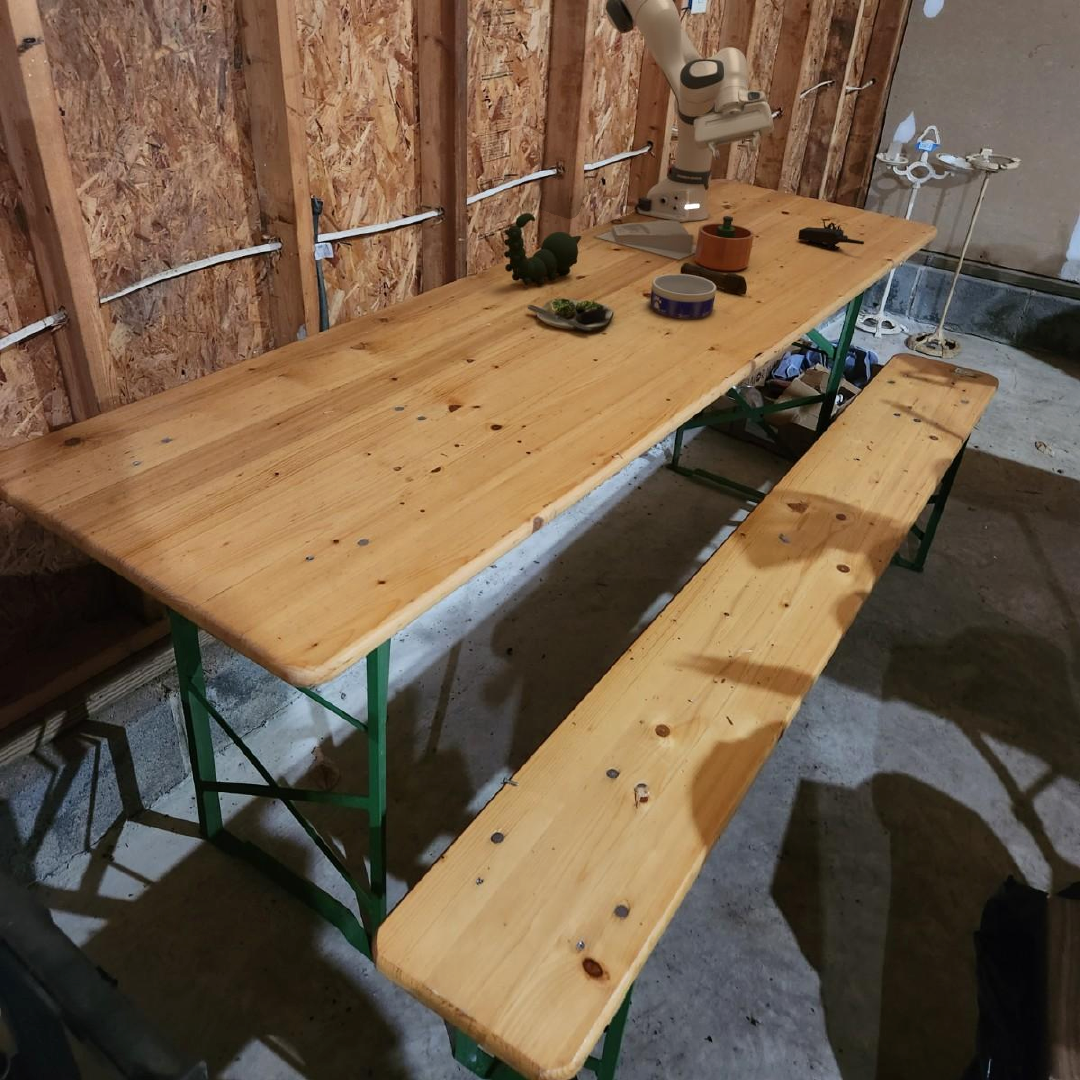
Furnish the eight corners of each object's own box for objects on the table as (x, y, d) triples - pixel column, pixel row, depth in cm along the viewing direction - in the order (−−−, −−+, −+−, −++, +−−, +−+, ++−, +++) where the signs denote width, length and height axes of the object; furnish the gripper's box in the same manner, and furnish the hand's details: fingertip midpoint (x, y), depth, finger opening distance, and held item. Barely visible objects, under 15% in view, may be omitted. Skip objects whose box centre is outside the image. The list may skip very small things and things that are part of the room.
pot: (690, 267, 250) (695, 234, 245) (699, 252, 262) (704, 220, 257) (744, 276, 247) (750, 242, 242) (750, 260, 259) (756, 227, 253)
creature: (832, 234, 289) (814, 230, 285) (839, 217, 286) (821, 213, 282) (849, 242, 283) (830, 238, 279) (856, 224, 280) (837, 220, 277)
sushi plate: (516, 325, 209) (517, 305, 206) (539, 300, 223) (540, 281, 220) (599, 339, 205) (601, 319, 202) (617, 312, 219) (619, 293, 216)
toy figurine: (523, 301, 227) (593, 272, 240) (522, 224, 215) (595, 198, 229) (497, 290, 232) (567, 262, 246) (494, 214, 220) (568, 190, 234)
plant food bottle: (710, 262, 252) (717, 218, 246) (713, 257, 256) (720, 214, 250) (728, 265, 251) (736, 221, 245) (730, 260, 255) (738, 216, 249)
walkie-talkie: (808, 230, 279) (872, 239, 268) (800, 248, 279) (863, 258, 268) (803, 218, 274) (868, 227, 263) (794, 235, 274) (859, 245, 262)
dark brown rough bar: (677, 278, 242) (680, 261, 240) (686, 275, 245) (689, 257, 242) (739, 298, 232) (742, 280, 230) (747, 295, 235) (751, 277, 232)
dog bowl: (636, 305, 224) (639, 280, 221) (676, 292, 233) (679, 268, 230) (686, 324, 215) (689, 299, 212) (725, 310, 224) (729, 286, 221)
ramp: (595, 237, 268) (596, 218, 265) (624, 226, 279) (626, 208, 276) (678, 259, 255) (681, 240, 252) (706, 248, 266) (709, 228, 263)
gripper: (690, 109, 243) (692, 155, 240) (770, 90, 236) (772, 138, 233) (695, 124, 249) (697, 169, 246) (773, 106, 242) (776, 152, 239)
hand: (734, 154), depth 239 cm, fingers open, 8 cm apart
